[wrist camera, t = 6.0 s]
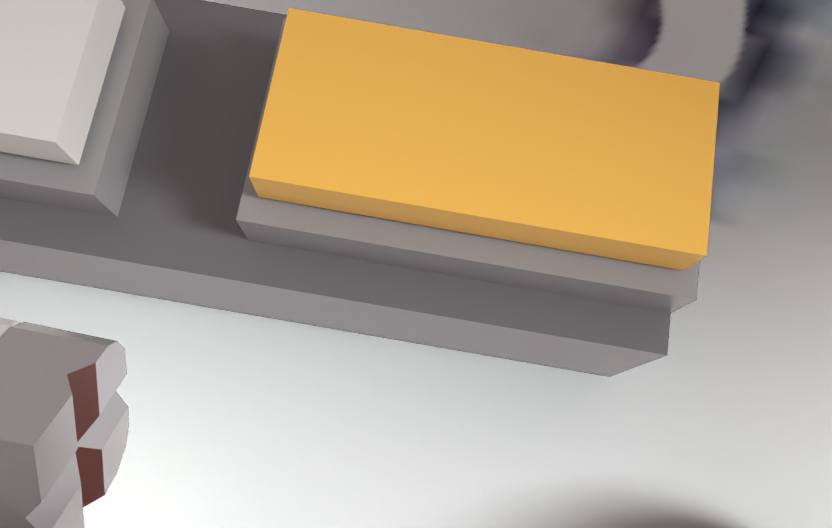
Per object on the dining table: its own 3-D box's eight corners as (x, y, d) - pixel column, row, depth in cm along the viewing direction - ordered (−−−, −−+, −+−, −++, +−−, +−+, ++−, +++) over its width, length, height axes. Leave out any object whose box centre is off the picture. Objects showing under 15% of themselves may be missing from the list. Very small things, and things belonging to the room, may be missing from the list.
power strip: (633, 146, 31) (716, 42, 24) (609, 376, 29) (693, 345, 21) (-100, 18, 31) (-256, -127, 24) (-183, 239, 29) (-388, 158, 21)
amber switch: (697, 107, 23) (719, 82, 21) (683, 270, 22) (706, 255, 20) (295, 38, 23) (288, 7, 21) (258, 196, 22) (248, 176, 20)
